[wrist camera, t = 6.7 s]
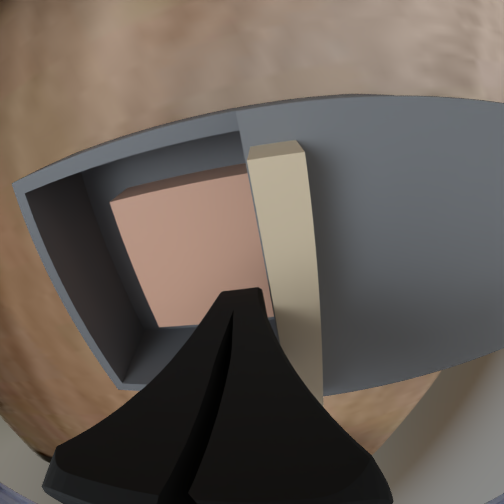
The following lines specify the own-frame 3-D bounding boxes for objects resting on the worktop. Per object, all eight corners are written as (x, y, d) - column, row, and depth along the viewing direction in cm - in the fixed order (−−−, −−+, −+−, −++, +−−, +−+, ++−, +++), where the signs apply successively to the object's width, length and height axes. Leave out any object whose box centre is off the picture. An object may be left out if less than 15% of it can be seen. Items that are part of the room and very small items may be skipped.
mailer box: (360, 307, 18) (382, 370, 13) (142, 331, 19) (118, 389, 15) (350, 93, 12) (394, 95, 8) (72, 154, 13) (11, 183, 9)
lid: (520, 331, 12) (539, 359, 10) (288, 390, 13) (290, 433, 11) (565, 115, 6) (603, 129, 4) (237, 110, 8) (228, 115, 6)
